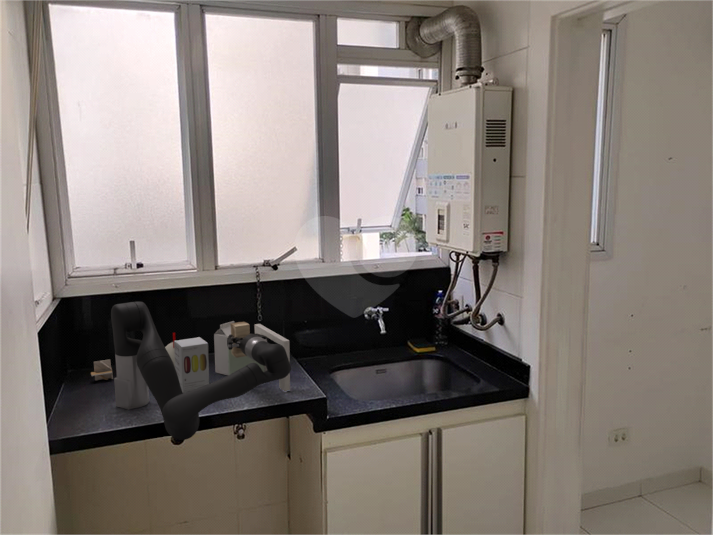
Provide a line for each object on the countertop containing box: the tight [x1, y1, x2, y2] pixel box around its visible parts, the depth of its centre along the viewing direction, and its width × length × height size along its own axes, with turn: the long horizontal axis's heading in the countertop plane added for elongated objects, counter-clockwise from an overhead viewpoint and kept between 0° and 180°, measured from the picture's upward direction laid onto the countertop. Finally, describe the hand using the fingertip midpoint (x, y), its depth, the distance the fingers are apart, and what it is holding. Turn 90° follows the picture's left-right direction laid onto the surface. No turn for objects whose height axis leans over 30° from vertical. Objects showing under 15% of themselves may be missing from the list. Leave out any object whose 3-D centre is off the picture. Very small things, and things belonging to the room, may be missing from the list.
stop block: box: [231, 321, 251, 358], centre depth 197 cm, size 5×5×11 cm
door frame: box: [254, 323, 291, 392], centre depth 202 cm, size 26×2×18 cm, turn 32°
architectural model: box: [90, 359, 114, 381], centre depth 203 cm, size 3×7×7 cm, turn 120°
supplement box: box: [174, 336, 210, 393], centre depth 195 cm, size 10×9×17 cm
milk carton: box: [213, 320, 235, 376], centre depth 211 cm, size 7×7×19 cm
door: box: [228, 349, 267, 375], centre depth 205 cm, size 15×3×13 cm, turn 122°
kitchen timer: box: [165, 332, 176, 366], centre depth 211 cm, size 14×14×15 cm
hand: (237, 336), depth 199 cm, fingers closed on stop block, 5 cm apart
